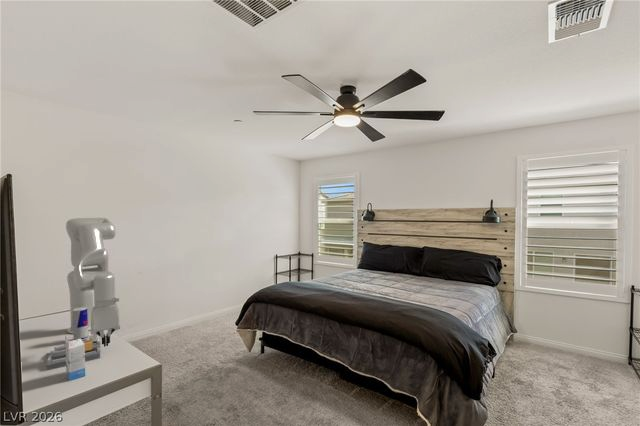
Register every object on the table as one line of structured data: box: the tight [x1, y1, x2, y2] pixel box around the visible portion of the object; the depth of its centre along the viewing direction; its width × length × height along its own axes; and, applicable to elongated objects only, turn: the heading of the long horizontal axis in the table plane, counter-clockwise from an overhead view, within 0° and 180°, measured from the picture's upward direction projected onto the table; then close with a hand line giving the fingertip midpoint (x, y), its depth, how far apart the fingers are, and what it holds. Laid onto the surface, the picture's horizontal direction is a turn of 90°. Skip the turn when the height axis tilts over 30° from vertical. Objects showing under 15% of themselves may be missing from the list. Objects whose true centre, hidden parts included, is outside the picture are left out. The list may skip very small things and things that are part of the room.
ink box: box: [64, 334, 86, 381], centre depth 119 cm, size 9×5×15 cm, turn 45°
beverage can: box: [72, 307, 89, 342], centre depth 152 cm, size 6×6×15 cm
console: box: [45, 337, 101, 371], centre depth 135 cm, size 20×17×3 cm
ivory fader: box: [88, 332, 98, 343], centre depth 143 cm, size 4×3×4 cm, turn 35°
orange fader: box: [83, 339, 92, 352], centre depth 134 cm, size 4×3×4 cm, turn 35°
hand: (106, 345), depth 137 cm, fingers closed
